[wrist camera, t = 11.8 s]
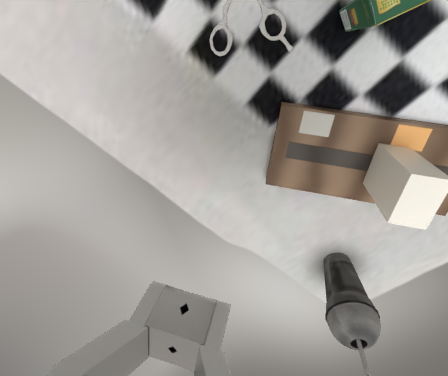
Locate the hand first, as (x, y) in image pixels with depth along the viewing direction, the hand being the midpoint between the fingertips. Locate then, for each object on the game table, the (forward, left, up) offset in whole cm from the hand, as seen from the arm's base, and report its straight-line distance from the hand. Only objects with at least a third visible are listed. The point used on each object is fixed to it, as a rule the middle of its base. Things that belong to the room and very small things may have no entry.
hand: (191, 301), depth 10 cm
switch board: (+11, +12, -33) cm, 37 cm away
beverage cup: (+30, +4, -34) cm, 45 cm away
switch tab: (+13, +14, -31) cm, 36 cm away
